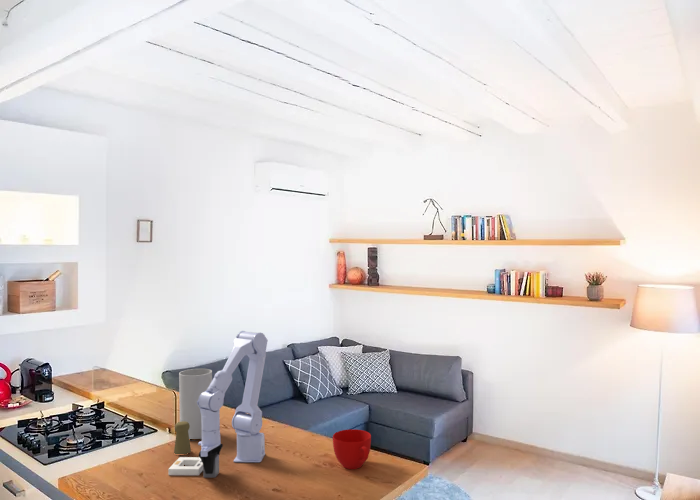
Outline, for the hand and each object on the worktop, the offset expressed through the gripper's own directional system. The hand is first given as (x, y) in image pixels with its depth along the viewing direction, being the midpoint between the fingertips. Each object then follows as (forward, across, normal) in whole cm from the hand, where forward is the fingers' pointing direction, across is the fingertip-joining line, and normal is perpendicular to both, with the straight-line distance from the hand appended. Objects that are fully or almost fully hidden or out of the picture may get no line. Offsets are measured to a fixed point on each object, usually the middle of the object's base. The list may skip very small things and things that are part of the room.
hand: (211, 470), depth 175 cm
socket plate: (+1, -4, -9) cm, 10 cm away
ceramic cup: (+2, -7, +46) cm, 47 cm away
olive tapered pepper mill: (+2, -19, -16) cm, 25 cm away
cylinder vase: (+2, -37, -18) cm, 41 cm away
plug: (+1, 0, 0) cm, 1 cm away
